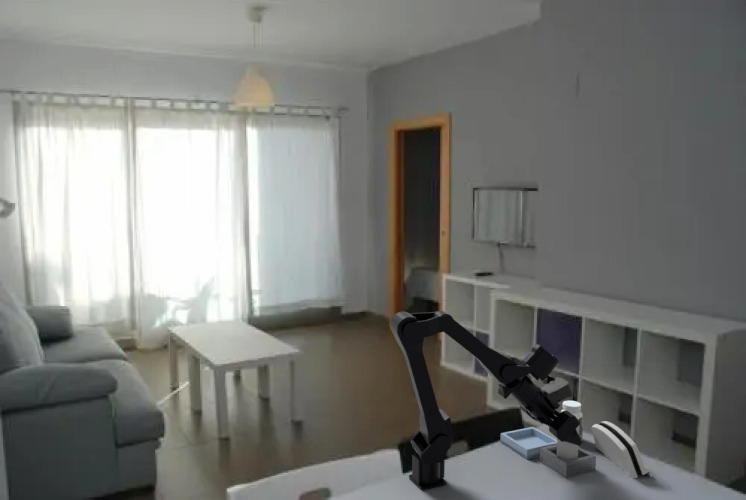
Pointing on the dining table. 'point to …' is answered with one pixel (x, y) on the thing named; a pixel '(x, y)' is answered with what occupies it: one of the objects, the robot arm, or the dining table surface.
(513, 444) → the tray
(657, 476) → the dining table surface
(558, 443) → the beverage can
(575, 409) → the pill bottle
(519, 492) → the dining table surface
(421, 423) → the robot arm
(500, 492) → the dining table surface
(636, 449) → the white black arched block
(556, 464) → the short square tube
